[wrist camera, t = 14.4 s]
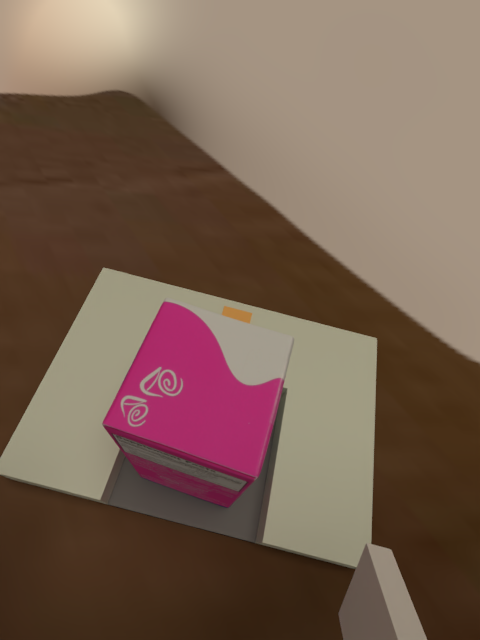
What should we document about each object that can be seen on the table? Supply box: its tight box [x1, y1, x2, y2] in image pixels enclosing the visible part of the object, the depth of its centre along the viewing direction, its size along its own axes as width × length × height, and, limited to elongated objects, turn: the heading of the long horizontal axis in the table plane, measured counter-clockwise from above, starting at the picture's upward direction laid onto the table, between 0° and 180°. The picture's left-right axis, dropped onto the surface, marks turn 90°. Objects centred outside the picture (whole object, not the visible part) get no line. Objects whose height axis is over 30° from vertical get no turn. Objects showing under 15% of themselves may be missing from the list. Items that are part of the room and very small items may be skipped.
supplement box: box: [102, 298, 294, 508], centre depth 19 cm, size 6×6×12 cm
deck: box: [0, 268, 377, 569], centre depth 24 cm, size 14×20×3 cm
